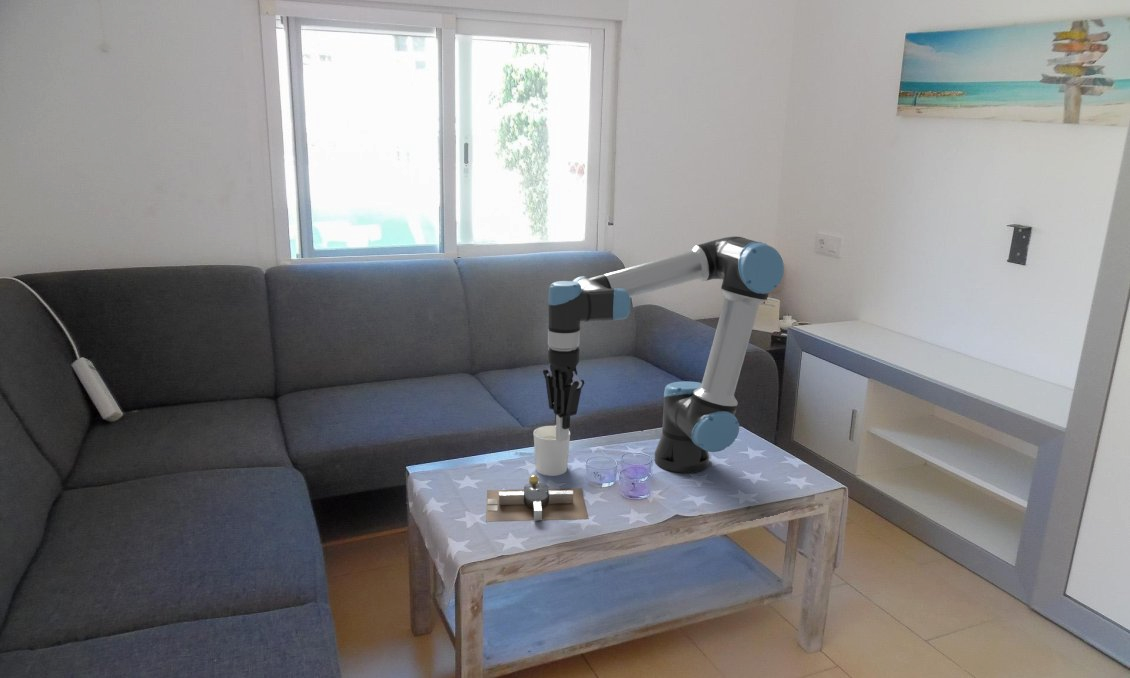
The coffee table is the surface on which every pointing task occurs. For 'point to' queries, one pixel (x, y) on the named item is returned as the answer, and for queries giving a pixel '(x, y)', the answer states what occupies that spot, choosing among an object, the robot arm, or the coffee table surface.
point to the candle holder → (550, 451)
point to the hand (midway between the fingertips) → (562, 439)
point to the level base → (526, 514)
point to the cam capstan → (536, 496)
